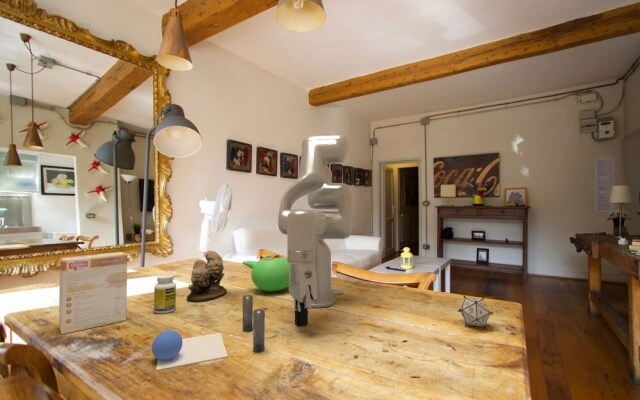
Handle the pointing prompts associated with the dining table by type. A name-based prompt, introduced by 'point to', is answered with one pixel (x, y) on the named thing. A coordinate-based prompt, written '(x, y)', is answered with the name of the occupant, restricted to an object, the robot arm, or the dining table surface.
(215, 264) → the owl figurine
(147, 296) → the dining table surface
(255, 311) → the post
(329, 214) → the robot arm
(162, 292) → the pill bottle
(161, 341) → the ball
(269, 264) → the green teapot
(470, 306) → the game die
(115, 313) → the coffeecake box
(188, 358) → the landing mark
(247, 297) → the post
